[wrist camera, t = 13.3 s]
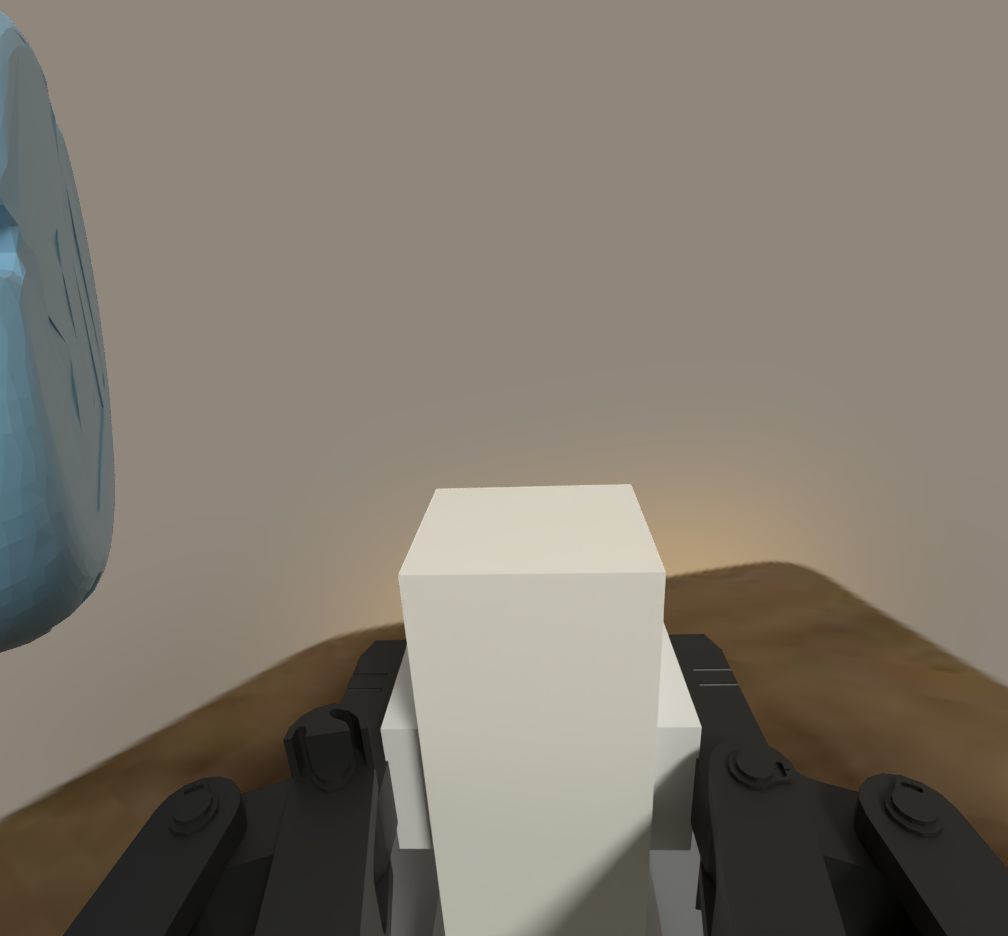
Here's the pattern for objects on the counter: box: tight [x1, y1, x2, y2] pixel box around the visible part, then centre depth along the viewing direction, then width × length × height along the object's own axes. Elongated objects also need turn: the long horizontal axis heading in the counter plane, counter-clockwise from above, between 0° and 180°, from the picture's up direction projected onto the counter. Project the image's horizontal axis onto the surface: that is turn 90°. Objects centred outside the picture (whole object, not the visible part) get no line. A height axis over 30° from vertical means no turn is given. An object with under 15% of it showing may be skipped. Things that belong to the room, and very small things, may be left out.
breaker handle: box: [398, 484, 666, 936], centre depth 11 cm, size 5×5×12 cm
